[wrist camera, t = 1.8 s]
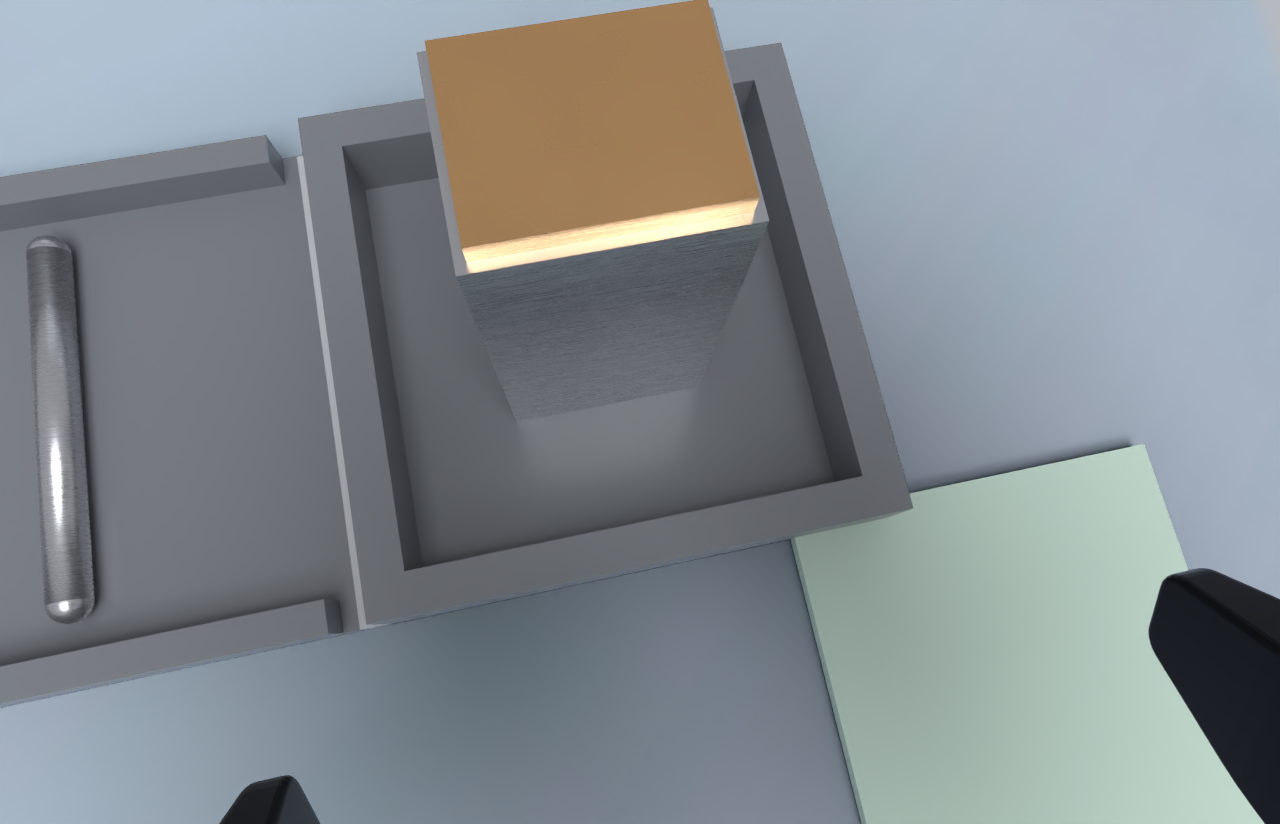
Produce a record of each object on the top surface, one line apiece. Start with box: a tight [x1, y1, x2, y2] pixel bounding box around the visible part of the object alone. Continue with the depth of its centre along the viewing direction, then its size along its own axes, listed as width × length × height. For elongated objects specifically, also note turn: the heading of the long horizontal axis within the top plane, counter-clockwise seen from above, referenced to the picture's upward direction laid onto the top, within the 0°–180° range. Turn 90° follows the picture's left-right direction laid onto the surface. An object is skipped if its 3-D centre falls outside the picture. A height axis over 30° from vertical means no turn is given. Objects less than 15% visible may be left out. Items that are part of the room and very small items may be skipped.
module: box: [417, 0, 769, 422], centre depth 18 cm, size 4×5×10 cm
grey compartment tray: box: [0, 43, 913, 708], centre depth 22 cm, size 13×27×2 cm, turn 102°
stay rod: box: [26, 236, 95, 624], centre depth 21 cm, size 10×1×1 cm, turn 12°
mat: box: [791, 444, 1264, 824], centre depth 22 cm, size 10×10×1 cm
